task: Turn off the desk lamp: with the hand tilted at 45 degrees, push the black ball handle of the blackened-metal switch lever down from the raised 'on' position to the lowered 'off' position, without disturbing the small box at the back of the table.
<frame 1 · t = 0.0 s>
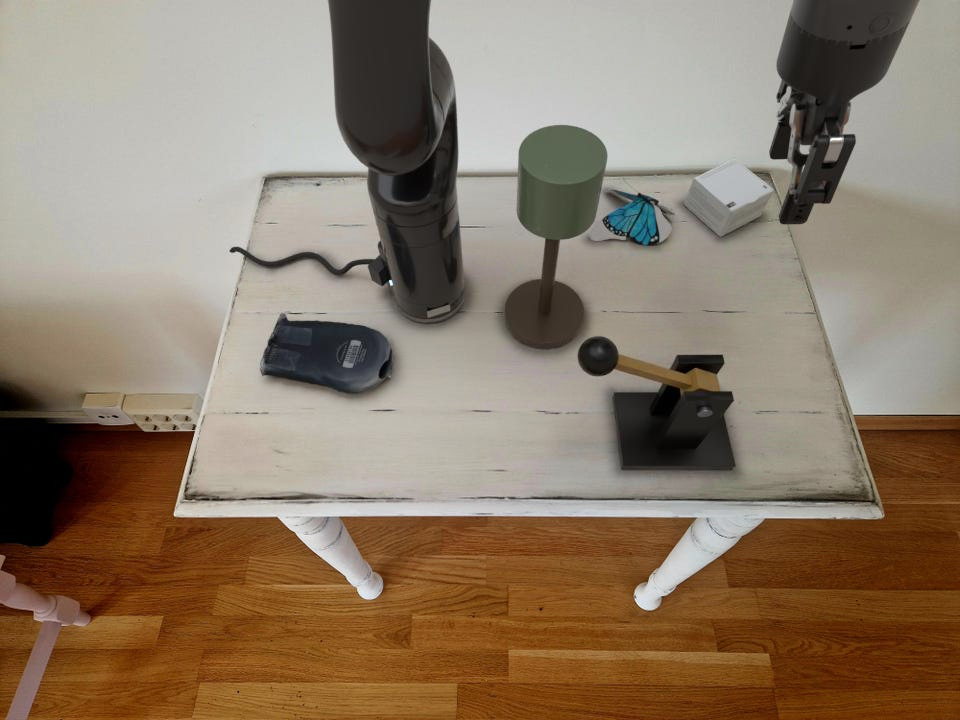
hand: (785, 188, 53), 22 cm above the table, tool pointing down, fingers open, 8 cm apart
decorative butterfly: (632, 224, 81), on the table
small box: (720, 212, 82), on the table
desk lamp: (543, 316, 73), on the table
lamp switch: (649, 371, 53), point 14 cm above the table, hinge at 28.0°
switch bracket: (669, 432, 65), on the table
electronic device: (334, 362, 71), on the table
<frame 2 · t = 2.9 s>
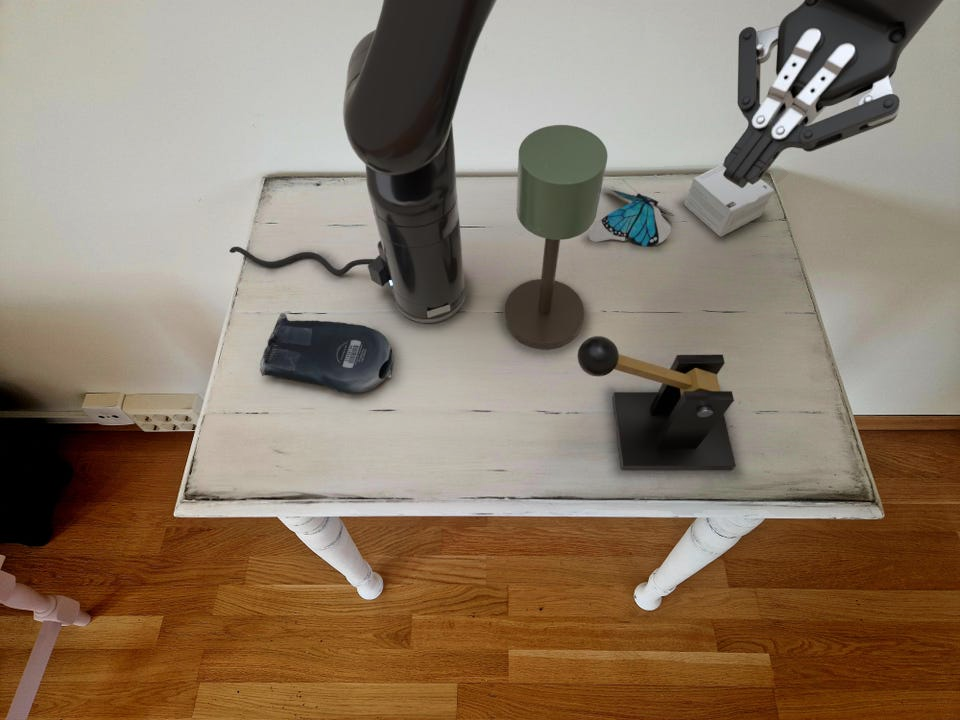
hand: (733, 181, 45), 29 cm above the table, tool tilted 45°, fingers closed
nothing on the table moved.
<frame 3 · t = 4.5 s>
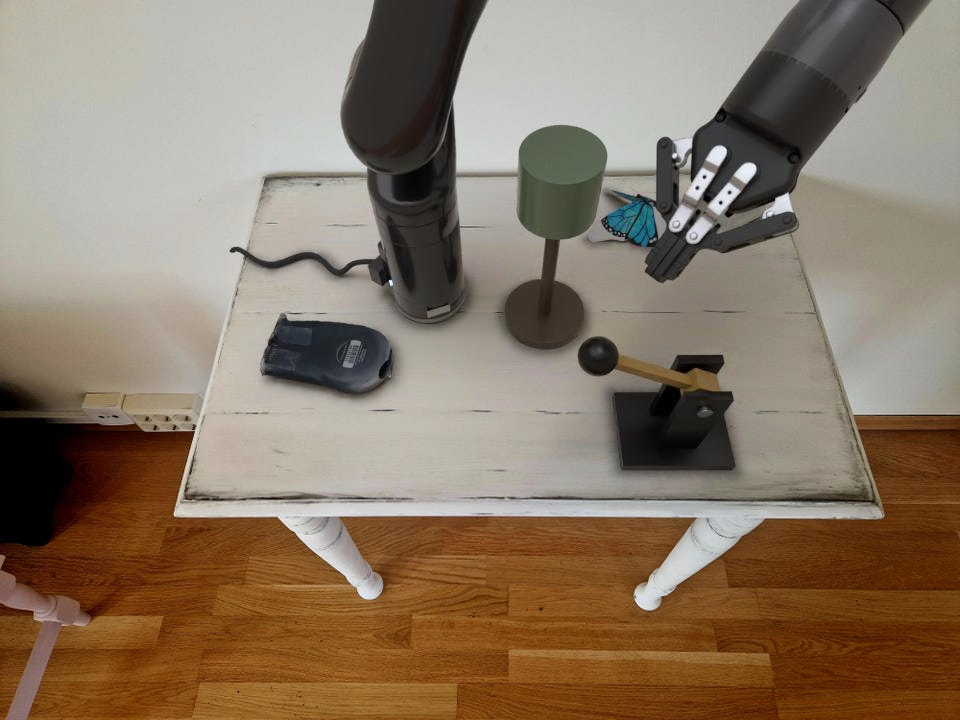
hand: (654, 277, 47), 23 cm above the table, tool tilted 45°, fingers closed
nothing on the table moved.
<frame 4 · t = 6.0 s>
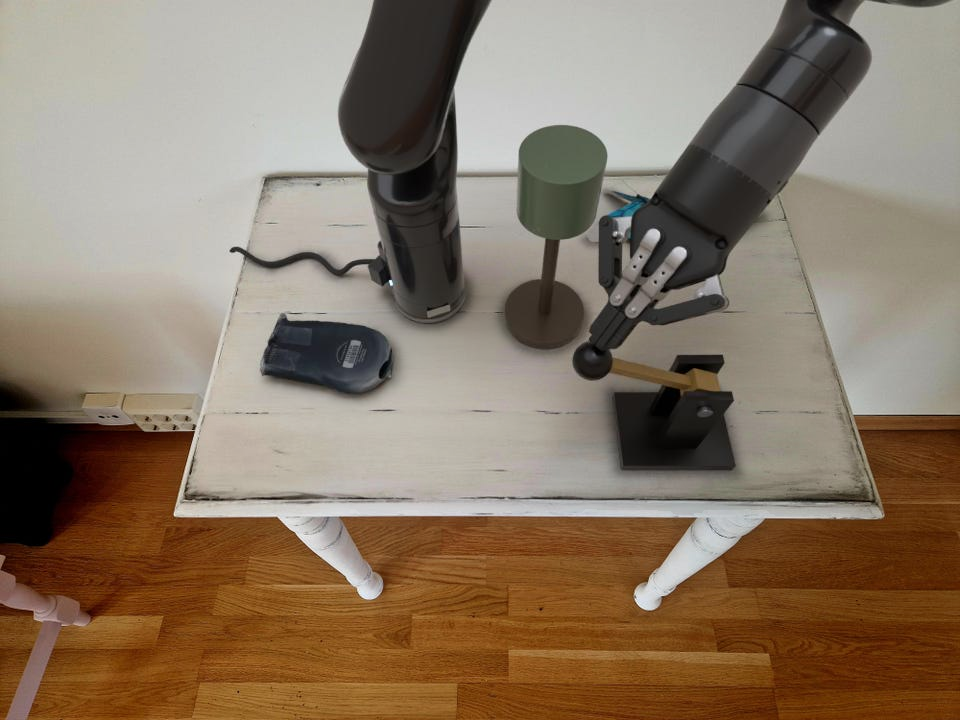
hand: (598, 345, 50), 18 cm above the table, tool tilted 45°, fingers closed
lamp switch: (645, 373, 53), point 14 cm above the table, hinge at 23.8°, touching gripper
everything else where it was.
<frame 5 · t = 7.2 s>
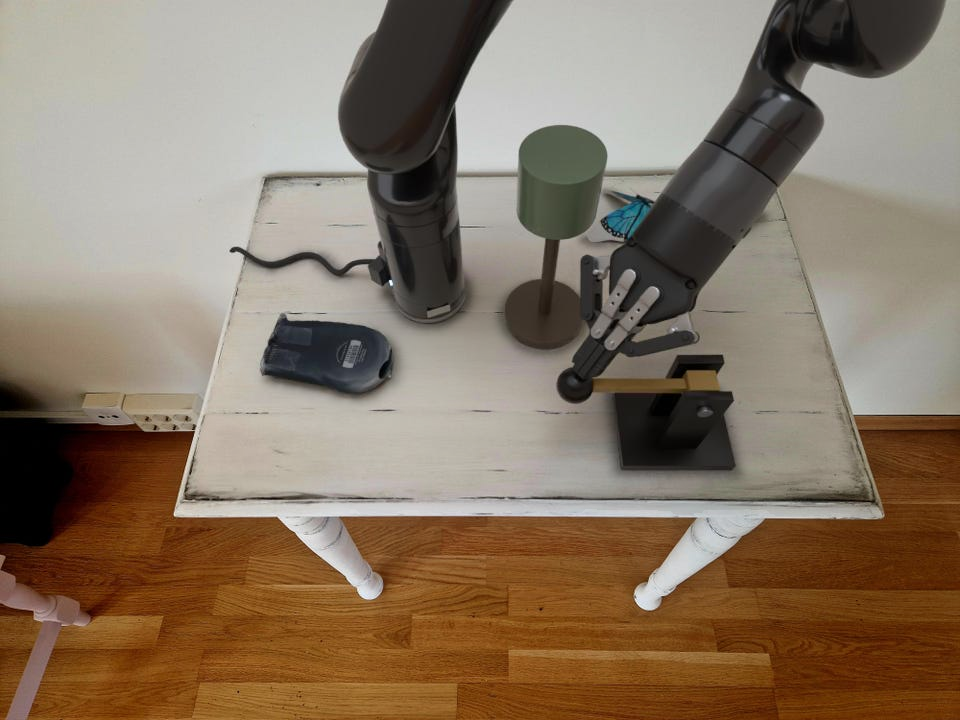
hand: (581, 374, 54), 13 cm above the table, tool tilted 45°, fingers closed
lamp switch: (634, 385, 55), point 11 cm above the table, hinge at 0.9°, touching gripper
everything else where it was.
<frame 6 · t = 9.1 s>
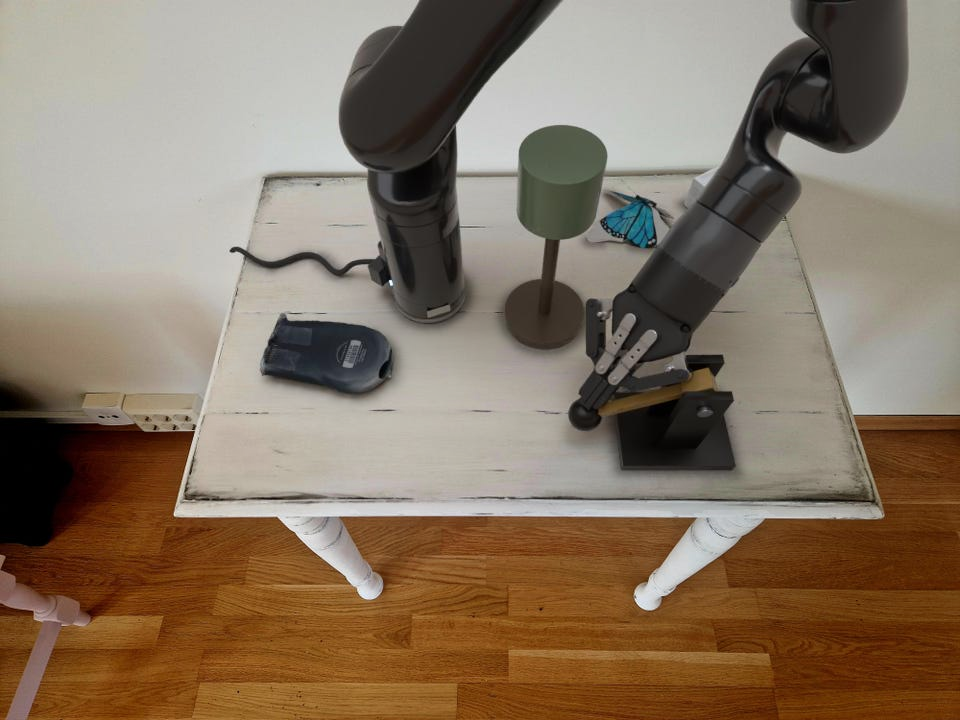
hand: (586, 405, 59), 7 cm above the table, tool tilted 45°, fingers closed
lamp switch: (637, 401, 58), point 8 cm above the table, hinge at -32.2°, touching gripper
everything else where it was.
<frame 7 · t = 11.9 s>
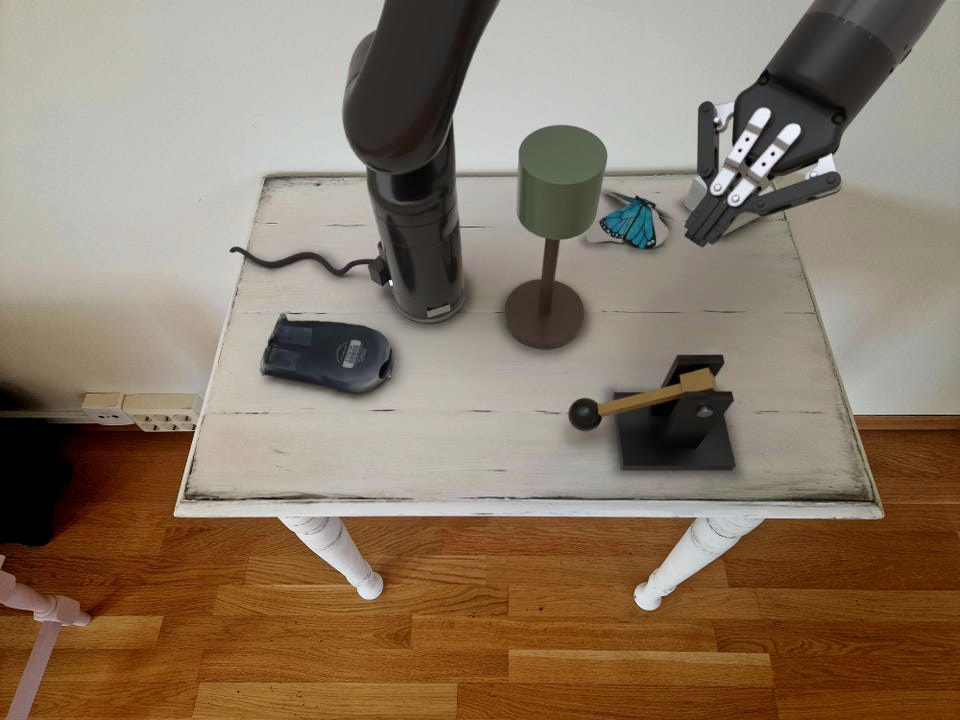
hand: (693, 242, 48), 24 cm above the table, tool tilted 45°, fingers closed
lamp switch: (637, 401, 58), point 8 cm above the table, hinge at -32.2°
everything else where it was.
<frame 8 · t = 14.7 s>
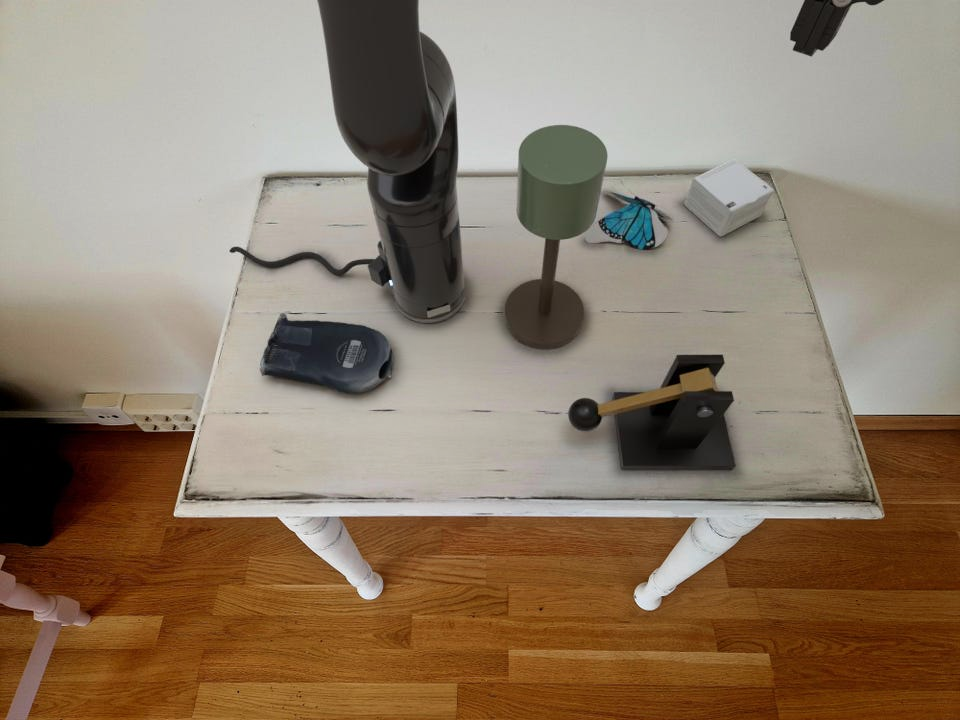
hand: (806, 48, 43), 35 cm above the table, tool pointing down, fingers closed
nothing on the table moved.
at the end: lamp switch at -32° (first picture: +28°); the gripper is holding nothing; small box 0.0 cm from the target spot, on the table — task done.
